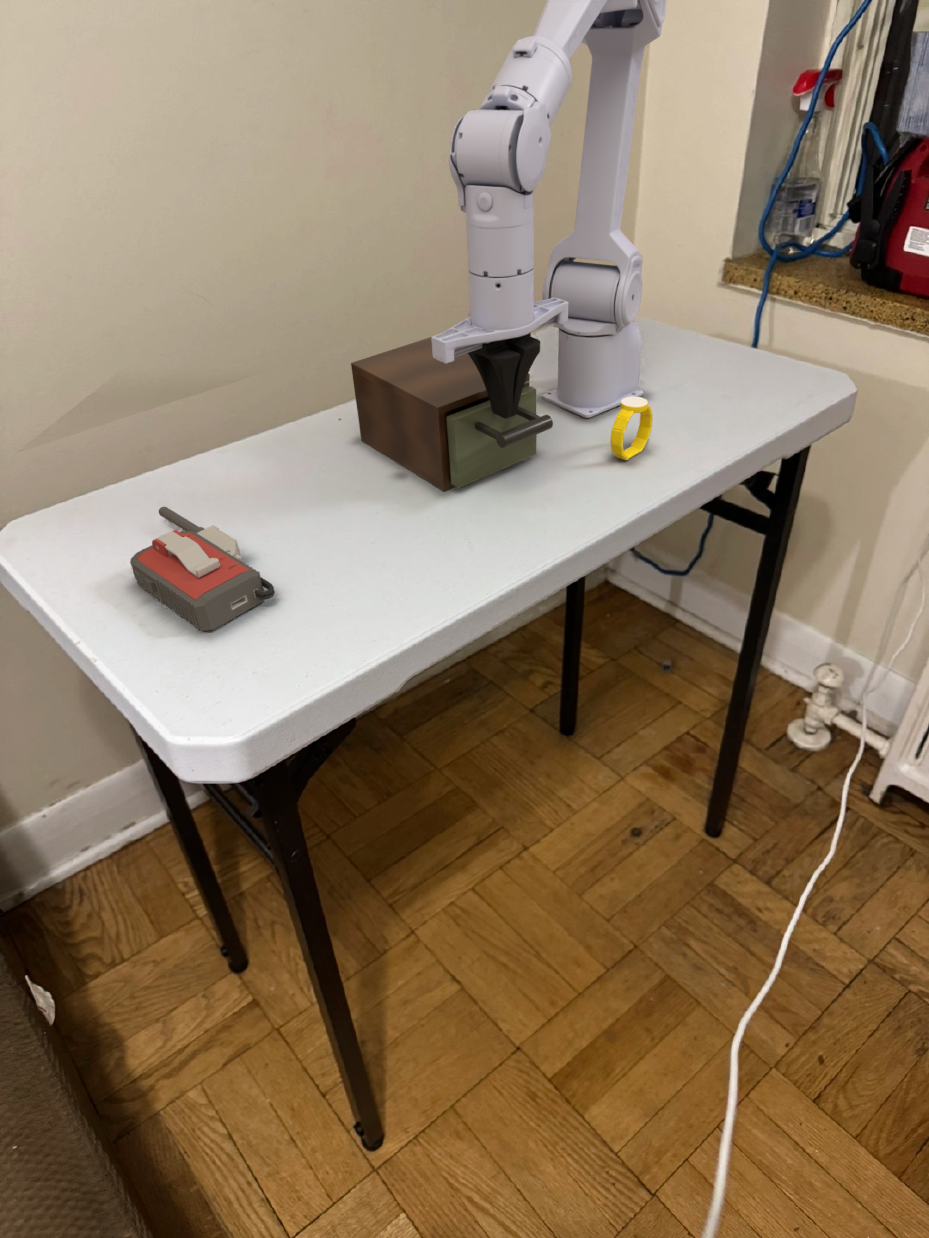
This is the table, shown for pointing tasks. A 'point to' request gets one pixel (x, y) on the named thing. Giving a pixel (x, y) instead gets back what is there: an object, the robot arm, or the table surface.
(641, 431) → the watch
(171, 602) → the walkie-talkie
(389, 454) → the cabinet
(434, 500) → the table surface
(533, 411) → the drawer
